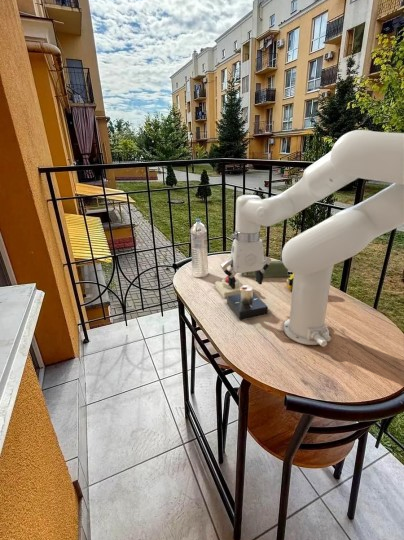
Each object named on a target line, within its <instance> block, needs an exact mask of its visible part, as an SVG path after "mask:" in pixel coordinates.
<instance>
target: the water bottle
mask: <svg viewBox="0 0 404 540" xmlns="http://www.w3.org/2000/svg"><path fill="white" fill-rule="evenodd" d="M189 233H190V245H191V247H190V251H191V269H192V272H191V273H192V275H193V277H195V278H205V277H207V276H208V275H209V266H208V265H209V264H208V262H209V260H208V259H209V258H208V239H207V238H208V236H207V227H206V226H205V225H204V224H203V223H202V222H201V218H195V223H194V224H192V225H191V227H190V229H189Z"/></svg>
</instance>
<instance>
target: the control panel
mask: <svg viewBox="0 0 404 540" xmlns="http://www.w3.org/2000/svg"><path fill="white" fill-rule="evenodd" d="M226 305H227V306H228V307H229V308H230V310H231V311H232V313H233V314H234V315H235V317H236V318H237V319H238V321H243V320H247V319H252V318H257V317H258V318H259V317H261V316H267V315H268V309H269V307H268V305H267V304H266V303H265V302H264V301H263V300H262V299H261V298H260V297H259V296H258V295H257V294H256V293H255V292H254V291H253V302H252V303H251V304H243V303H242V302H241V294H237V295H231V296H227V298H226Z"/></svg>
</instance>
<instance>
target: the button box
mask: <svg viewBox="0 0 404 540" xmlns="http://www.w3.org/2000/svg"><path fill="white" fill-rule="evenodd" d="M214 286H215V288H216V289H217V291H218V292H219V293H220V295H221V296H222V297H223V299H227V296H231V295H237V294H241V287H242V286H244V284H242V282H241V281H240V280H239V279H238V278H236V277H235V289H232V288H231V287H230V286H229V284H228V283H226V277H224V278H223V279H222V280H217V281H216V280H215V285H214Z"/></svg>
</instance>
